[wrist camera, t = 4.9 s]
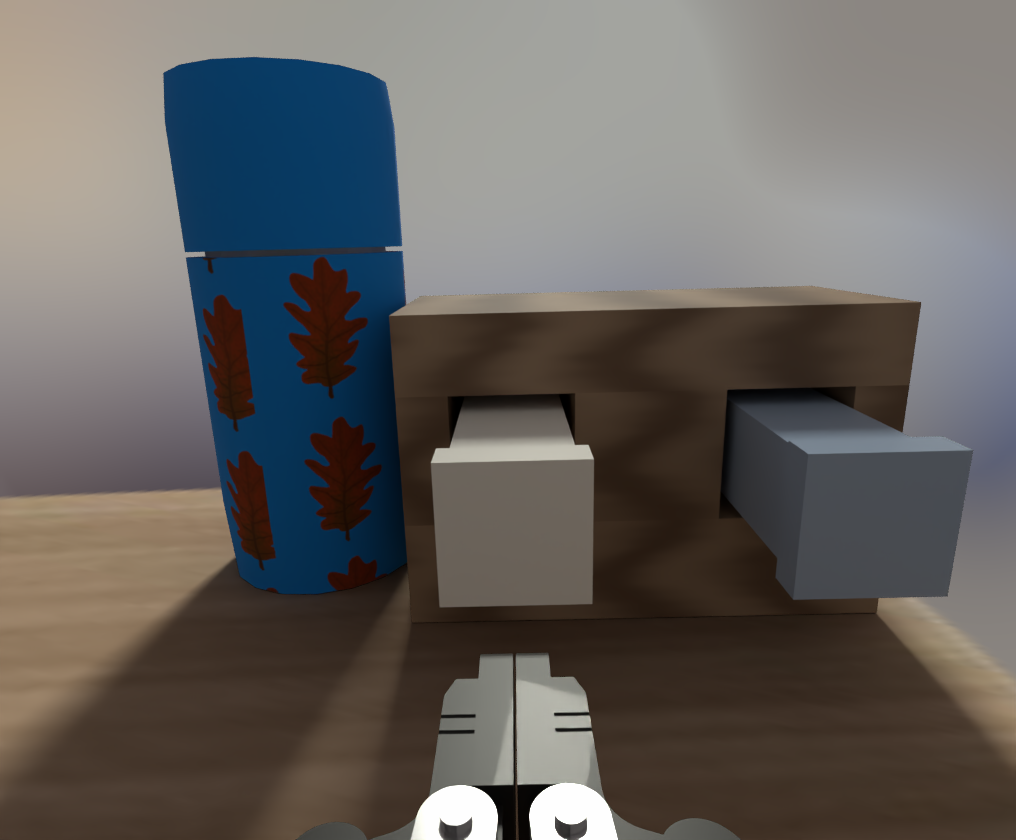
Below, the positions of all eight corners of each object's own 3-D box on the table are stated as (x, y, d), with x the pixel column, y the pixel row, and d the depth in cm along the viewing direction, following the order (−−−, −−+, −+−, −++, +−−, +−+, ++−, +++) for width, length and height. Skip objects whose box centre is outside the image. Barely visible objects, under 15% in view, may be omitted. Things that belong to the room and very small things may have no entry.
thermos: (448, 565, 36) (421, 69, 29) (244, 618, 31) (155, 44, 25) (391, 500, 45) (360, 113, 39) (227, 533, 41) (160, 101, 34)
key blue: (793, 599, 22) (808, 454, 20) (697, 479, 33) (703, 379, 32) (947, 596, 22) (973, 450, 20) (799, 476, 33) (809, 376, 31)
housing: (411, 622, 31) (389, 315, 27) (435, 531, 40) (420, 295, 36) (876, 612, 30) (921, 302, 27) (788, 523, 40) (811, 286, 36)
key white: (439, 607, 22) (430, 463, 21) (463, 484, 33) (458, 385, 32) (592, 603, 22) (594, 459, 20) (564, 482, 33) (564, 382, 32)
